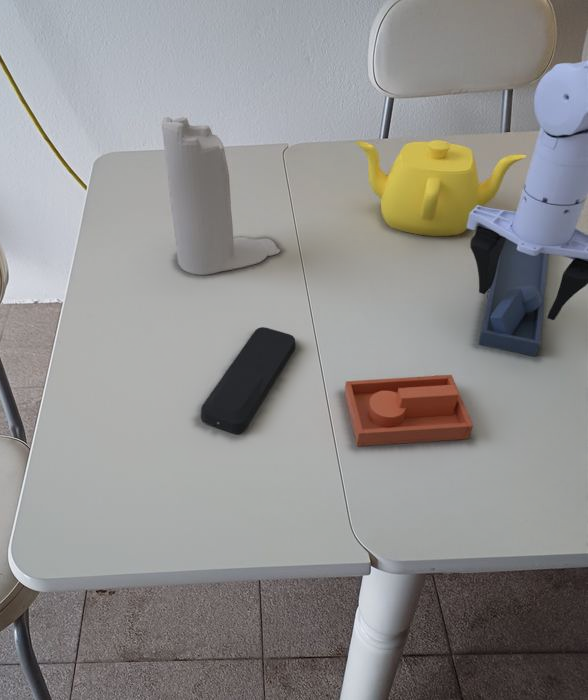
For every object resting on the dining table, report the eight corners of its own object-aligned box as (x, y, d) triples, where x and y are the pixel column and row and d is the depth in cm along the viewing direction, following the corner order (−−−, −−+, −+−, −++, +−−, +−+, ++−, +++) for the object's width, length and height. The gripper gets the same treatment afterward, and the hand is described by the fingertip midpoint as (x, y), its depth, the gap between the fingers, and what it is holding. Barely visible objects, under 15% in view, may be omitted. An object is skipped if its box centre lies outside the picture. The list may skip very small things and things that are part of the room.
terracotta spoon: (445, 397, 66) (451, 376, 64) (456, 423, 64) (462, 402, 62) (364, 402, 66) (367, 381, 64) (371, 429, 64) (375, 408, 62)
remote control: (259, 336, 76) (197, 420, 66) (259, 324, 75) (196, 408, 64) (298, 347, 74) (241, 436, 64) (298, 335, 73) (240, 424, 63)
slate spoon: (518, 339, 71) (511, 317, 69) (487, 339, 73) (479, 317, 72) (546, 296, 75) (540, 274, 74) (516, 297, 78) (509, 276, 76)
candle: (285, 259, 86) (288, 111, 73) (184, 279, 84) (167, 130, 70) (268, 231, 91) (268, 89, 78) (173, 250, 89) (155, 106, 75)
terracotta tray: (448, 387, 68) (451, 374, 67) (469, 438, 63) (473, 426, 61) (344, 393, 68) (345, 381, 66) (356, 446, 63) (358, 433, 61)
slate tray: (535, 356, 71) (539, 343, 70) (478, 344, 73) (482, 331, 71) (546, 238, 88) (550, 226, 86) (500, 230, 89) (503, 218, 88)
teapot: (340, 240, 89) (346, 167, 82) (355, 186, 100) (362, 117, 93) (508, 260, 84) (531, 184, 77) (505, 200, 95) (524, 129, 88)
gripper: (465, 186, 64) (441, 295, 73) (622, 232, 57) (573, 347, 66) (494, 159, 67) (468, 266, 77) (644, 199, 61) (595, 312, 70)
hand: (518, 301), depth 71 cm, fingers open, 7 cm apart
